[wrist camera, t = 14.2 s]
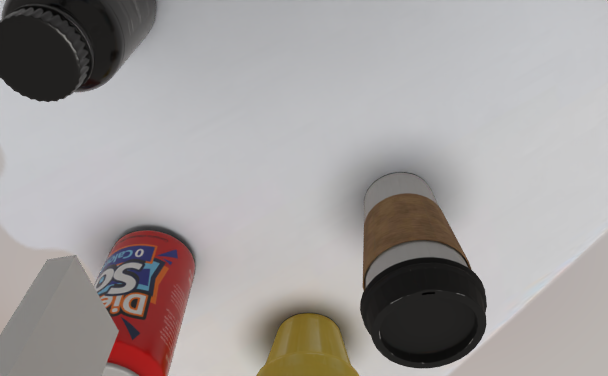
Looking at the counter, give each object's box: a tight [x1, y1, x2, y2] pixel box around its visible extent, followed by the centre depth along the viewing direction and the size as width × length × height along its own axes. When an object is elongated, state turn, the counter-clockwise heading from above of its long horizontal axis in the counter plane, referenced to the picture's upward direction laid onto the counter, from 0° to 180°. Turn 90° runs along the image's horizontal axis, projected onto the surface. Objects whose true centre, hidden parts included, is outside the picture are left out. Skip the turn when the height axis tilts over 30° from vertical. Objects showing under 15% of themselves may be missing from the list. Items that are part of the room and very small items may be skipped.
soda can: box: [94, 230, 195, 376], centre depth 44 cm, size 8×8×15 cm
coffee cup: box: [360, 173, 487, 368], centre depth 41 cm, size 8×8×15 cm
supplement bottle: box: [0, 0, 156, 102], centre depth 33 cm, size 7×7×12 cm
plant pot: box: [256, 313, 359, 376], centre depth 52 cm, size 10×10×10 cm
